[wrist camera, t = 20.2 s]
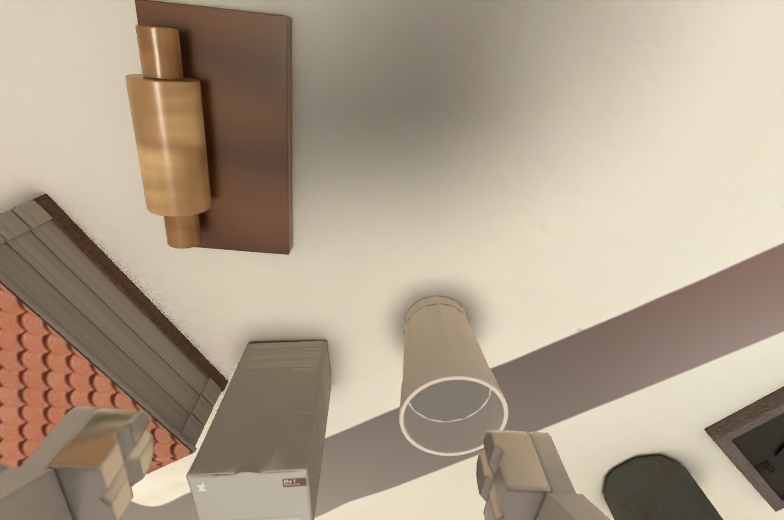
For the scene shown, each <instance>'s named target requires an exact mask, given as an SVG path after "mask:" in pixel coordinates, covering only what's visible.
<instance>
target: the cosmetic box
mask: <svg viewBox="0 0 784 520" xmlns="http://www.w3.org/2000/svg"><path fill="white" fill-rule="evenodd" d="M330 392H331V377H330V368H329V358H328V346H327V341H326V340H321V341H299V342H275V343H251V344H248V345H247V347H246V349H245V351H244V353H243V356H242V358H241V360H240V362H239V364H238V366H237V369H236V371H235V373H234V375H233V377H232V380H231V382H230V384H229V386H228V389H227V391H226V393H225V395H224V397H223V399H222V402H221V404H220V406H219V408H218V410H217V413H216V415H215V417H214V419H213V421H212V424H211V426H210V428H209V430H208V432H207V435H206V437H205V439H204V441H203V443H202V445H201V447H200V450H199V452H198V454H197V456H196V458H195V460H194V462H193V464H192V466H191V468H190V470H189V472H188V473H187V475H186V477H187V480H188V483H189V486H190V490H191V493H192V496H193V499H194V502H195V505H196V509H197V512H198V516H199V519H200V520H314V516H315V509H316V501H317V493H318V486H319V479H320V471H321V463H322V455H323V447H324V440H325V432H326V424H327V416H328V408H329V400H330Z"/></svg>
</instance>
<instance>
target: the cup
mask: <svg viewBox="0 0 784 520" xmlns="http://www.w3.org/2000/svg"><path fill="white" fill-rule="evenodd" d="M404 333H405V345H404V366H403V381H402V388H401V402H400V416H399V421H400V427H401V430H402V432H403V434H404V436H405V437H406V438H407V439H408V441H409V442H411V443H412V444H413V445H414V446H416V447H417V448H419V449H421V450H423V451H426V452H428V453H432V454H437V455H444V456H454V455H463V454H467V453H471V452H474V451H476V450H479V449H481V448H483V447H484V445H483V437H484V434H485V432H486V431H487V430H503V429H504V427H505V425H506V422H507V419H508V407H507V403H506V401H505V398H504V396H503V394H502V392H501V390H500V388H499V386H498V384H497V382H496V379H495V377H494V375H493V373H492V371H491V369H490V368H489V366H488V364H487V362H486V360H485V358H484V355H483V353H482V351H481V349H480V347H479V344H478V342H477V340H476V338H475V335H474V333H473V331H472V329H471V326H470V323H469V320H468V317H467V314H466V311H465V310H464V308H463V307H462V306H461V305H460V304H459V303H458V302H456V301H455V300H453V299H450V298H447V297H442V296H434V297H428V298H425V299H422V300H420V301H418V302H417V303H415V304H414V305H413V306H412V307H411V308H410V309H409V310H408V312H407V314H406V316H405V319H404Z"/></svg>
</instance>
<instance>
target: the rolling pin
mask: <svg viewBox="0 0 784 520" xmlns="http://www.w3.org/2000/svg"><path fill="white" fill-rule="evenodd" d="M136 33H137V39H138V46H139V53H140V60H141V66H142V73H143V74H132V75H126V76H125V78H126V84H127V90H128V96H129V102H130V109H131V115H132V121H133V127H134V133H135V139H136V145H137V151H138V157H139V163H140V169H141V175H142V181H143V187H144V193H145V199H146V205H147V209H148V211H150V212H151V213H153V214H157V215H161V216H164V222H165V228H166V235H167V242H168V245H169V246H171V247H173V248H191V247H194V246H197V245H199V244H200V243H201V233H200V224H199V213H202V212H205V211H207V210H208V209H210V208H211V205H212V204H211V193H210V183H209V172H208V161H207V150H206V140H205V129H204V118H203V108H202V97H201V86H200V81H199V80H197V79H193V78H187V77H183V68H182V58H181V49H180V40H179V31H178V29H172V28H163V27H154V26H145V25H136Z"/></svg>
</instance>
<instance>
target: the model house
mask: <svg viewBox="0 0 784 520" xmlns="http://www.w3.org/2000/svg"><path fill="white" fill-rule="evenodd" d="M227 383H228V381H227V380H226V379H225V378H224V377H223V376H222V375H221V374H220V373H219V372H218V371H217V370H216V369H215V368H214V367H213V366H212V365H211V364H210V363H209V362H208V361H207V360H206V358H205V357H204V356H203V355H202V354H201V353H200V352H199V351H198V350H197V349H196V348H195V347H194V346H193V345H192V344H191V343H190V342H189V341H188V340H187V339H186V338H185V337H184V336H183V335H182V334H181V333H180V332H179V331H178V330H177V329H176V328H175V326H174V325H173V324H172V323H171V322H170V321H169V320H168V319H167V318H166V317H165V316H164V315H163V314H162V313H161V312H160V311H159V310H158V309H157V308H156V307H155V306H154V305H153V304H152V303H151V302H150V301H149V300H148V299H147V298H146V297H145V296H144V295H143V293H142V292H141V291H140V290H139V289H138V288H137V287H136V286H135V285H134V284H133V283H132V282H131V281H130V280H129V279H128V278H127V277H126V276H125V275H124V274H123V273H122V272H121V271H120V270H119V269H118V268H117V267H116V266H115V265H114V264H113V263H112V262H111V260H110V259H109V258H108V257H107V256H106V255H105V254H104V253H103V252H102V251H101V250H100V249H99V248H98V247H97V246H96V245H95V244H94V243H93V242H92V241H91V240H90V239H89V238H88V237H87V236H86V235H85V234H84V233H83V232H82V231H81V230H80V228H79V227H78V226H77V225H76V224H75V223H74V222H73V221H72V220H71V219H70V218H69V217H68V216H67V215H66V214H65V213H64V212H63V211H62V210H61V209H60V208H59V207H58V206H57V205H56V204H55V203H54V202H53V201H52V200H51V199H50V198H49V197H48V195H47V194H45V195H43V196H40V197H38V198H35V199H34V200H32V201H30V202H28V203H25V204H23V205H21V206H18V207H16V208H14V209H12V210H9V211H7V212H4V213H2V214H0V463H1V464H2V465H4V466H5V467H6V468H8V469H9V468H11V467H20V466H21V465H22V464H23V463H24V462H25V460H26V459H27V458H28V457H29V456H30V455H31V454H32V453H33V451H34V450H35V449H36V448H37V447H38V446H39V445H40V443H41V442H42V441H43V440H44V439H45V438H46V437H47V435H48V434H49V433H50V432H51V431H52V430H53V429H54V428H55V426H56V425H57V424H58V423H59V422H60V421H61V420H62V418H63V417H64V416H65V415H66V414H67V413H68V412H69V411H70V410H71V409H73V408H75V407H77V406H88V407H104V408H116V409H128V410H140V411H146V412H147V413H148V416H149V420H150V423H149V425H148V426H147V428H146V430H147V431H148V432H149V433H151V434H152V435H153V438H154V454H153V458H152V461H151V464H150V467H149V469H148V471H147V473H146V474H148V473H150V472H152V471H155V470H157V469H159V468H161V467H163V466H166V465H168V464H170V463H172V462H175V461H177V460H179V459H181V458H183V457H186V456H188V455H190V454H192V453H194V452H195V451H196V449H197V448H196V447H195V445H196V443H197V441H198V439H199V437H200V435H201V433H202V430H203V428H204V425H205V424H206V422H207V420H208V418H209V416H210V414H211V412H212V409H213V407H214V405H215V403H216V401H217V399H218V397H219V395H220V393H221V392H222V391H224V389H225V387H226V385H227ZM146 474H145V475H146Z"/></svg>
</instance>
